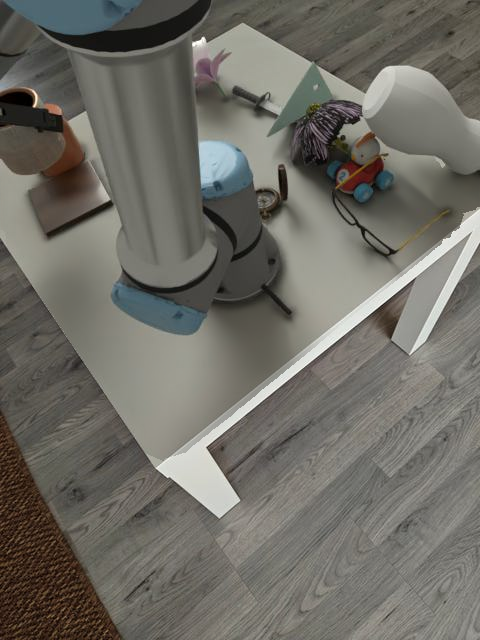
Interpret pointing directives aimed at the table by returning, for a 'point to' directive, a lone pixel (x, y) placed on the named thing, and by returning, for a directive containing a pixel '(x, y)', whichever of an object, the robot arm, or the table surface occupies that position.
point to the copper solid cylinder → (72, 147)
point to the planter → (28, 138)
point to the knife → (258, 101)
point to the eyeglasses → (362, 228)
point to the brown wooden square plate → (69, 198)
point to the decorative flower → (324, 129)
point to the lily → (209, 69)
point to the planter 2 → (303, 98)
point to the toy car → (374, 172)
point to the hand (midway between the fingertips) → (32, 124)
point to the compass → (273, 194)
